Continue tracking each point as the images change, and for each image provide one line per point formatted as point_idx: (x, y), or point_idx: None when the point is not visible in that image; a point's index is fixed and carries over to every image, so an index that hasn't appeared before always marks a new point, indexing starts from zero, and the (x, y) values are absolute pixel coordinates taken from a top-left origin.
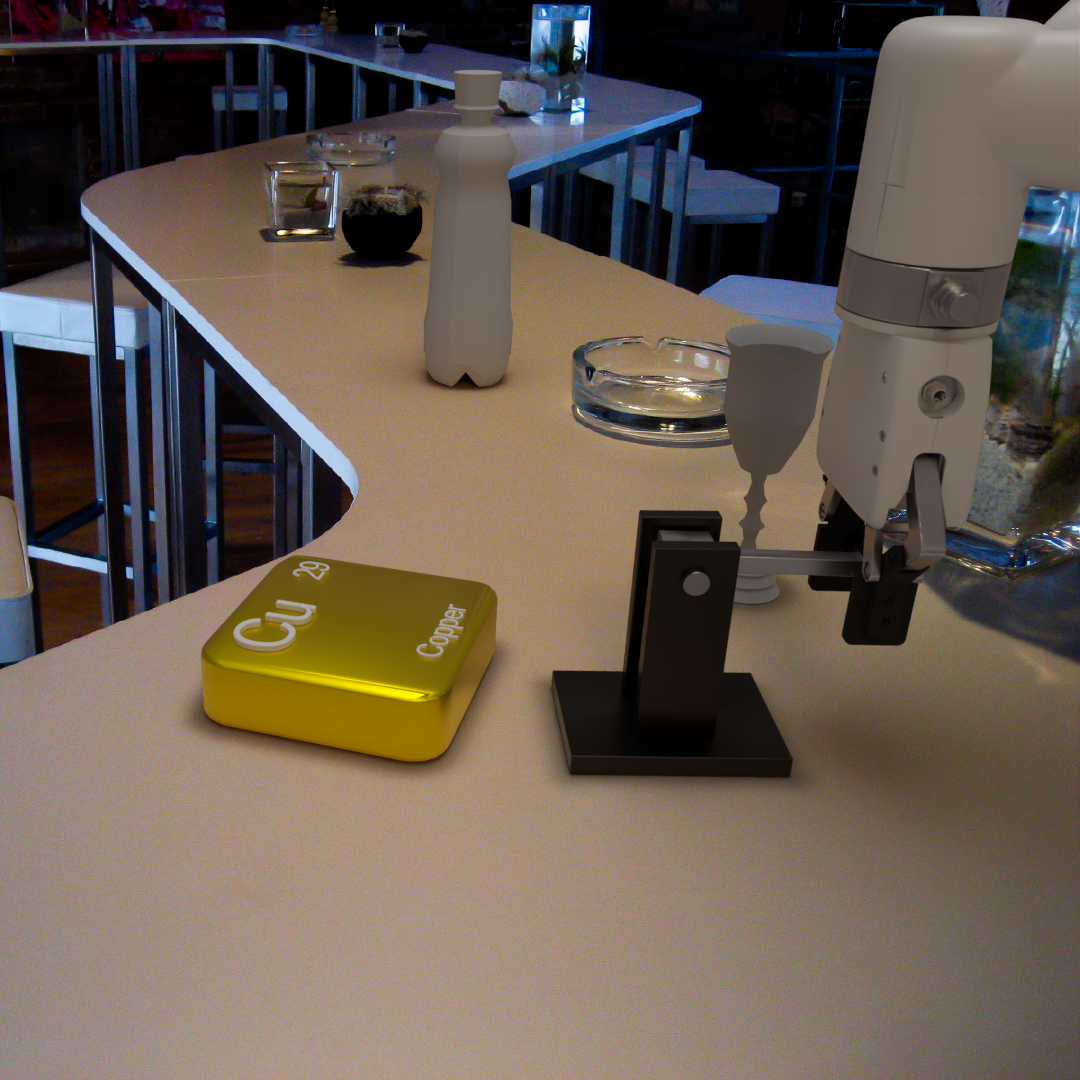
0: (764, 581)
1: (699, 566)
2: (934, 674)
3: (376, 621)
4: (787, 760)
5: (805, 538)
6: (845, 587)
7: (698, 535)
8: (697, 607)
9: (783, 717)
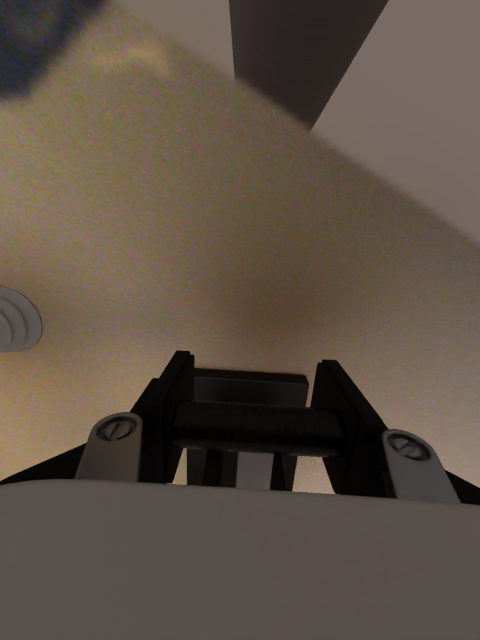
0: (12, 315)
1: None
2: (156, 195)
3: None
4: (308, 386)
5: None
6: (193, 379)
7: None
8: None
9: (229, 354)
